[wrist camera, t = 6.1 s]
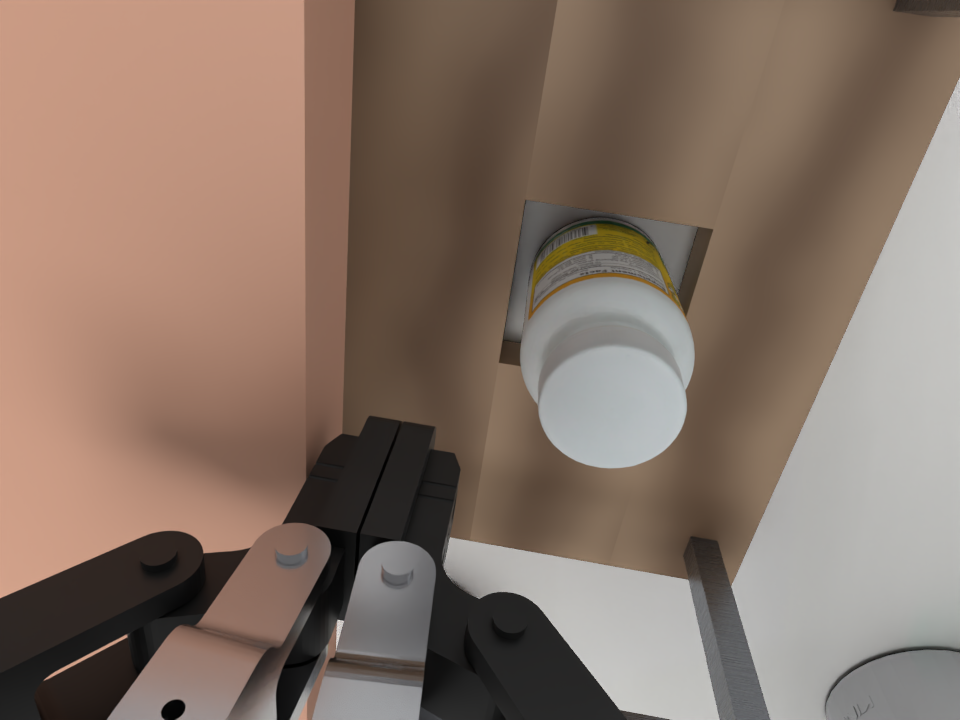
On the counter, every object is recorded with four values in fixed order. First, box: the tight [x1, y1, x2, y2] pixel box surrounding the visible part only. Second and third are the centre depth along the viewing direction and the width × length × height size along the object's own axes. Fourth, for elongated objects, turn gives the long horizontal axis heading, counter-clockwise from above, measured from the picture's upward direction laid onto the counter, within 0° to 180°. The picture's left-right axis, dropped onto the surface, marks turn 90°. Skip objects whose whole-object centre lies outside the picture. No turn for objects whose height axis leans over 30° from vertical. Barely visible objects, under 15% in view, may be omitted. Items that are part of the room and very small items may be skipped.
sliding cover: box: [0, 0, 355, 720], centre depth 14 cm, size 8×24×2 cm, turn 173°
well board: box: [342, 0, 960, 585], centre depth 25 cm, size 28×26×2 cm
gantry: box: [419, 0, 960, 720], centre depth 20 cm, size 25×23×10 cm
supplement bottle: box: [520, 218, 695, 468], centre depth 22 cm, size 5×5×10 cm
